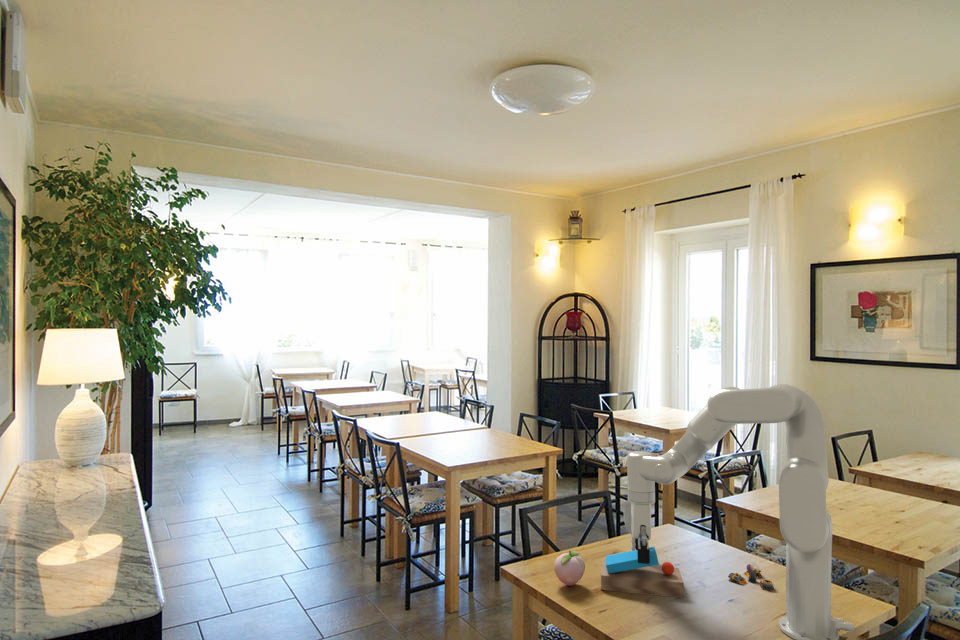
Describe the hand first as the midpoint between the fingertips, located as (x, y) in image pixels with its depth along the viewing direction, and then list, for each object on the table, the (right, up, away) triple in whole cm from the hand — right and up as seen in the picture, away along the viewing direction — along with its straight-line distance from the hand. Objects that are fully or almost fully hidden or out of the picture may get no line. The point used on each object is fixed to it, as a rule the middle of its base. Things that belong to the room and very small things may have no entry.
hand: (642, 556), depth 164 cm
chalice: (+2, -9, +17) cm, 19 cm away
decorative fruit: (-21, -9, 0) cm, 23 cm away
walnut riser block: (-1, -8, 0) cm, 8 cm away
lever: (-1, -5, 0) cm, 5 cm away
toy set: (+33, -10, +2) cm, 35 cm away
